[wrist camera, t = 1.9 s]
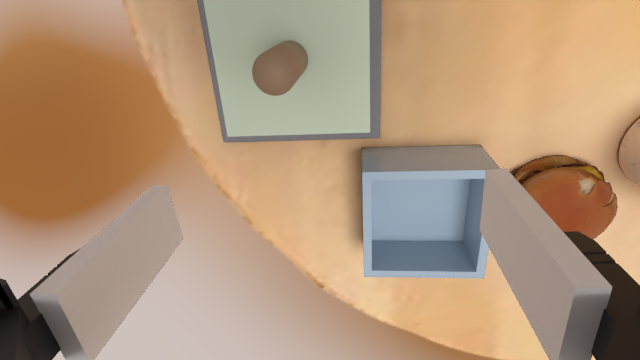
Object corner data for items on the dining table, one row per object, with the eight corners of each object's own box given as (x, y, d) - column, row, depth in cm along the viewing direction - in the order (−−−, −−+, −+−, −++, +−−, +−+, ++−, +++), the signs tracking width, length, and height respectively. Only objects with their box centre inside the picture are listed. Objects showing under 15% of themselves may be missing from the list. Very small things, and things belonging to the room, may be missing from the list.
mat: (193, -35, 32) (190, -36, 32) (380, -51, 30) (381, -52, 30) (225, 140, 39) (223, 142, 38) (379, 136, 37) (380, 138, 37)
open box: (361, 147, 38) (362, 172, 32) (480, 144, 37) (501, 169, 31) (363, 242, 43) (363, 276, 37) (467, 242, 42) (483, 278, 36)
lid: (204, -23, 32) (157, -30, 25) (368, -37, 30) (371, -48, 23) (231, 132, 38) (200, 164, 31) (369, 128, 36) (372, 161, 29)
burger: (490, 235, 41) (506, 261, 37) (500, 156, 37) (518, 176, 33) (587, 233, 40) (614, 260, 36) (608, 151, 36) (641, 171, 32)
